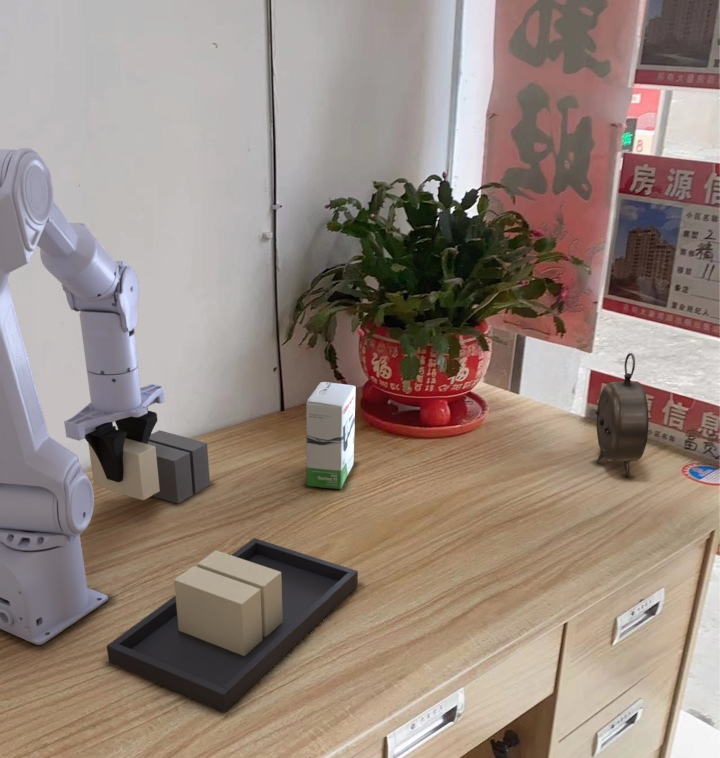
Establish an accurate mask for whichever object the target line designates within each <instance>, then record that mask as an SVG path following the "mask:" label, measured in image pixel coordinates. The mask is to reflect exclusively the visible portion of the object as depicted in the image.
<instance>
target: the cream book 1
mask: <svg viewBox="0 0 720 758" xmlns="http://www.w3.org/2000/svg"><path fill="white" fill-rule="evenodd" d="M173 585H174V594H175V595H176V606H177V616H178V627H179V631H181V632H184V633H186V634H189V635H191V636H194V637H196V638H199V639H201V640H204V641H207V642H209V643H212V644H214V645H217V646H219V647H222V648H225V649H227V650H230V651H232V652H235V653H237V654H240V655H242V656H245V655H247V654H248V653H249V652H250V651H251V650H252V649H253V648H254V647H255V646H257V645H258V644H259V643H260V642H261V641H262V616H261V590H260V589H259V588H256V587H253V586H250V585H247V584H245V583H242V582H239V581H236V580H233V579H230V578H227V577H224V576H222V575H219V574H216V573H213V572H210V571H207V570H204V569H201V568H199V567H198V566H196V565H193V566H192V567H190V568H189V569H187V570H185V571H184V572H183V573H182V574H180V575H178V576H176V578H174V579H173ZM175 595H174V596H175Z"/></svg>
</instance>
